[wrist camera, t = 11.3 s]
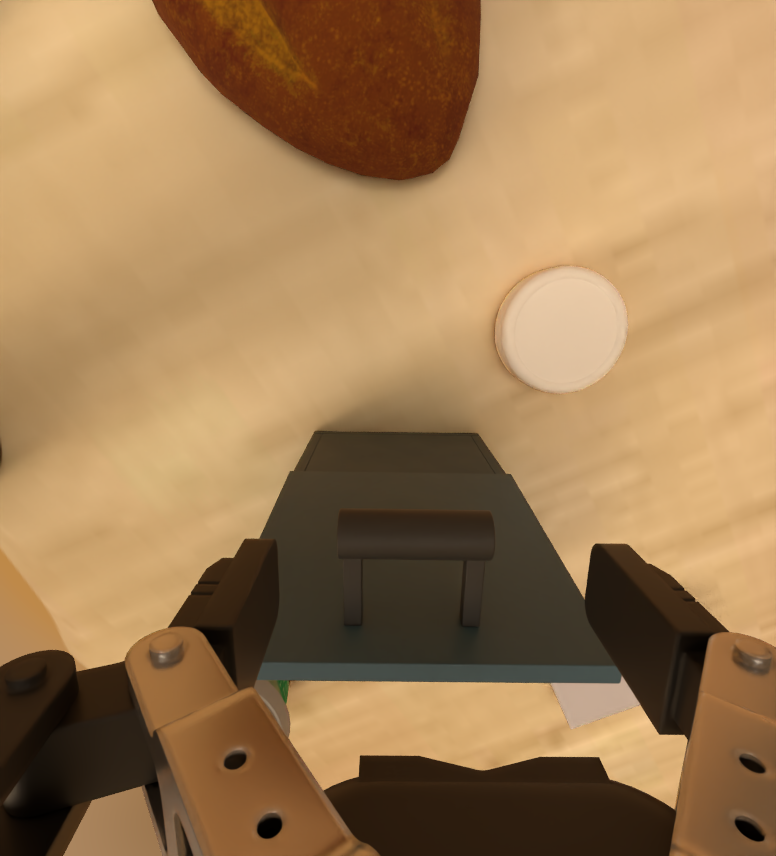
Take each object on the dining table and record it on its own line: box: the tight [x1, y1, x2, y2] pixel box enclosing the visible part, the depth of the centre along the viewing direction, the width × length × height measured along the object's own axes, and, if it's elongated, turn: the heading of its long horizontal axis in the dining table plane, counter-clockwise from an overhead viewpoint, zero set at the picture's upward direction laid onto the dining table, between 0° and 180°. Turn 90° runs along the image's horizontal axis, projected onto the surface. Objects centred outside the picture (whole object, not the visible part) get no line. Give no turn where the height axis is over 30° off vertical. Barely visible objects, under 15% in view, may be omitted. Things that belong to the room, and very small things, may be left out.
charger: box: [550, 676, 640, 729], centre depth 47 cm, size 5×9×15 cm
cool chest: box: [294, 431, 506, 474], centre depth 41 cm, size 16×15×11 cm
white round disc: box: [495, 265, 628, 394], centre depth 40 cm, size 10×10×4 cm
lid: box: [257, 471, 622, 684], centre depth 24 cm, size 16×15×6 cm
